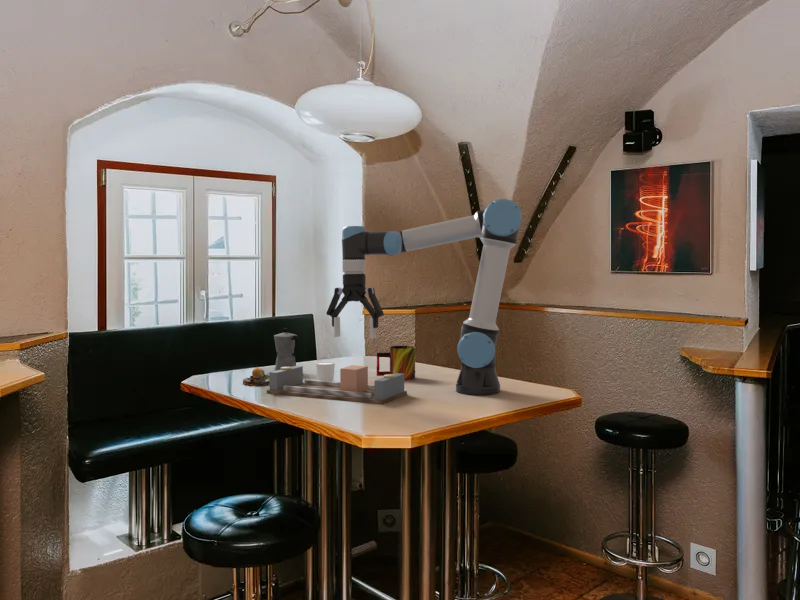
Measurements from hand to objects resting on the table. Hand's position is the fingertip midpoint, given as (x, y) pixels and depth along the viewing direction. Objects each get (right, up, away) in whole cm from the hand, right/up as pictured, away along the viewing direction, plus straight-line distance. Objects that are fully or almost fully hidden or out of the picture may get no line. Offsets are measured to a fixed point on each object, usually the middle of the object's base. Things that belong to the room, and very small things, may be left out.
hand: (355, 337), depth 228 cm
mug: (+14, -18, +34) cm, 41 cm away
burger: (-37, -19, +25) cm, 48 cm away
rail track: (-7, -19, +4) cm, 21 cm away
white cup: (-13, -18, +27) cm, 35 cm away
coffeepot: (-30, -17, +48) cm, 59 cm away
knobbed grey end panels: (-7, -18, +4) cm, 20 cm away
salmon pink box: (0, -18, +1) cm, 18 cm away
